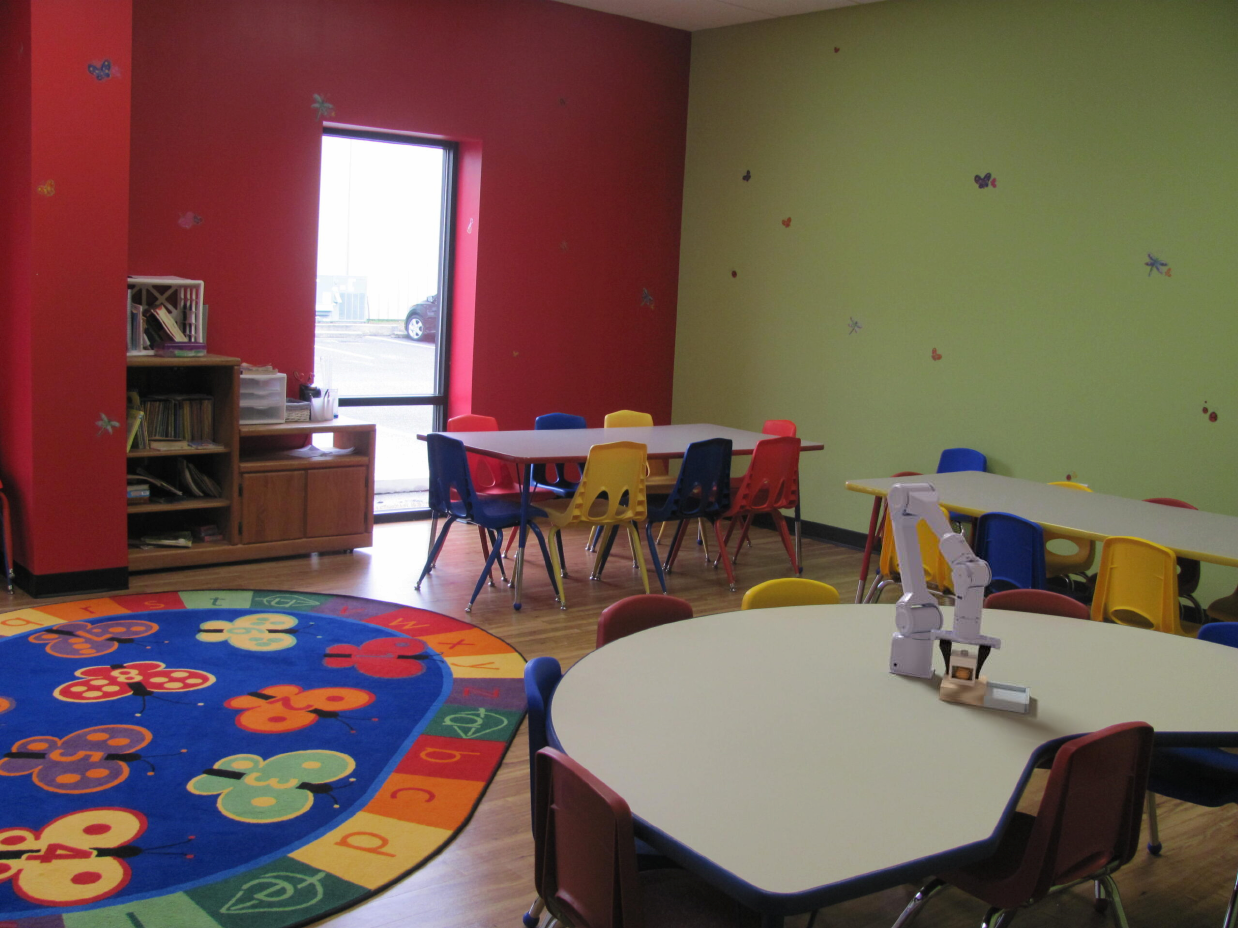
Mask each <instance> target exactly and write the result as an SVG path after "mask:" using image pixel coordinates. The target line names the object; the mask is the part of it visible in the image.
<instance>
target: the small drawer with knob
mask: <svg viewBox="0 0 1238 928" xmlns="http://www.w3.org/2000/svg"><path fill="white" fill-rule="evenodd" d="M977 660H978V652H975V651H969V650H968V649H954V648H952V649H951V656H950V668H949V678H948V682H949V683H955V684H961V685H968V686H974V684H975V680H976V679H975V674H976V668H977ZM960 667H964V668H966V669H968V671H969V673H970V676H969V678H968V679H972V681H969V680H963V679H956V678H952V676H955V677H956V675H955V672H956V670H957V669H958V668H960Z"/></svg>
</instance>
